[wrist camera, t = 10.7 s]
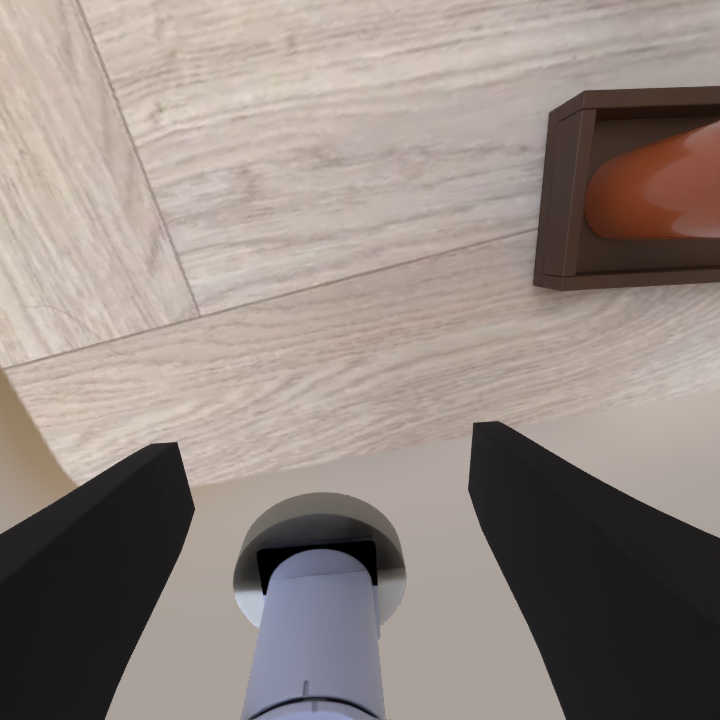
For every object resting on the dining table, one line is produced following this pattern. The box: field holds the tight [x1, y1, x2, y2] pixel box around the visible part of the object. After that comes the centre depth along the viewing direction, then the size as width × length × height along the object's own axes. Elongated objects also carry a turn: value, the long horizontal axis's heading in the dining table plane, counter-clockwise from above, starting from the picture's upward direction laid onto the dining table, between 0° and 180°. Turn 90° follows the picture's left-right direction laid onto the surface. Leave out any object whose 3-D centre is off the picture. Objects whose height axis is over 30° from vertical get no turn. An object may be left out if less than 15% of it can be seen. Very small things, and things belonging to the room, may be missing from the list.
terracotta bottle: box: [584, 120, 720, 241], centre depth 12 cm, size 4×4×8 cm
